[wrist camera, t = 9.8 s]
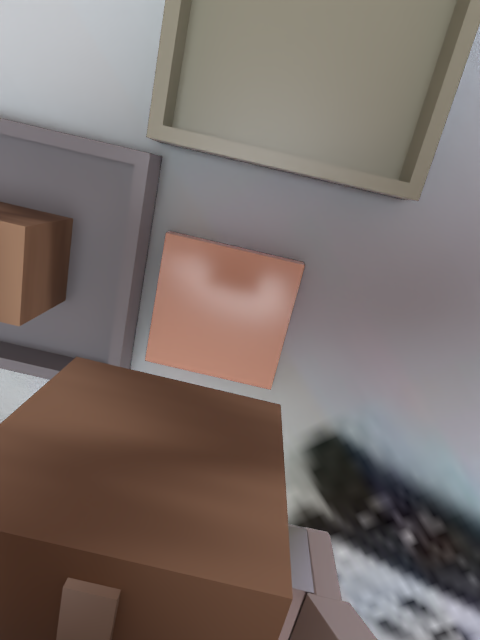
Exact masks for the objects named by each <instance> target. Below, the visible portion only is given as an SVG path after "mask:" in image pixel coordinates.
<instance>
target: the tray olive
mask: <svg viewBox="0 0 480 640" xmlns="http://www.w3.org/2000/svg"><path fill="white" fill-rule="evenodd" d="M479 24H480V0H165V7H164V14H163V21H162V29H161V36H160V43H159V50H158V57H157V64H156V72H155V79H154V86H153V93H152V100H151V107H150V115H149V122H148V129H147V136H146V137H148V138H150V139H153V140H155V141H157V142H161V143H165V144H169V145H173V146H178V147H182V148H186V149H191V150H195V151H199V152H203V153H208V154H212V155H216V156H220V157H225V158H229V159H233V160H237V161H242V162H246V163H250V164H254V165H259V166H263V167H267V168H271V169H276V170H280V171H284V172H289V173H293V174H297V175H301V176H306V177H310V178H314V179H318V180H323V181H327V182H331V183H335V184H340V185H344V186H348V187H352V188H357V189H361V190H365V191H370V192H374V193H378V194H382V195H387V196H391V197H395V198H399V199H404V200H415V201H419V198H420V195H421V192H422V190H423V187H424V184H425V181H426V178H427V175H428V172H429V169H430V166H431V163H432V160H433V158H434V155H435V152H436V149H437V146H438V143H439V140H440V137H441V134H442V131H443V128H444V126H445V123H446V120H447V117H448V114H449V111H450V108H451V105H452V102H453V99H454V96H455V94H456V91H457V88H458V85H459V82H460V79H461V76H462V73H463V70H464V67H465V64H466V62H467V59H468V56H469V53H470V50H471V47H472V44H473V41H474V38H475V35H476V32H477V30H478V27H479Z"/></svg>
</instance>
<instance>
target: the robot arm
mask: <svg viewBox="0 0 480 640" xmlns="http://www.w3.org/2000/svg"><path fill="white" fill-rule="evenodd" d="M288 531H289V547H290V562H291V578H292V594H293V600H292V603H291V605H290V608H289V611H288V614H287V617H286V619H285V622H284V625H283V628H282V630H281V633H280V636H279V639H278V640H377V638H376V637H375V636H374V635H373V633H372V632H371V631H370V629H369V628H368V627H367V625H366V624H365V623H364V621H363V620H362V619H361V618H360V616H359V615H358V614H357V612H356V611H355V610H354V608H353V607H352V606H351V604H350V603H348V602H344V601H342V597H341V592H340V587H339V581H338V576H337V571H336V565H335V560H334V555H333V549H332V544H331V539H330V535H329V534H328V532H325V531H320V530H315V529H311V528H306V527H305V528H304V527H300V526H296V525H291V524H288Z"/></svg>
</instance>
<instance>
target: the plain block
mask: <svg viewBox="0 0 480 640" xmlns="http://www.w3.org/2000/svg"><path fill="white" fill-rule="evenodd" d="M72 227H73V218H68V217H64V216H60V215H55V214H51V213H47V212H42V211H38V210H34V209H30V208H25V207H21V206H17V205H12V204H8V203H4V202H0V322H3V323H7V324H11V325H16V326H21V325H23V324H25V323H26V322H28V321H30V320H32V319H34V318H35V317H37V316H39V315H41V314H42V313H44V312H46V311H48V310H50V309H51V308H53V307H55V306H57V305H58V304H60V303H62V302H64V301H66V291H67V280H68V270H69V259H70V248H71V238H72Z"/></svg>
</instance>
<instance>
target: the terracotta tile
mask: <svg viewBox="0 0 480 640" xmlns="http://www.w3.org/2000/svg"><path fill="white" fill-rule="evenodd" d="M304 266H305V264H304V262H301V261H297V260H292V259H288V258H284V257H279V256H275V255H271V254H267V253H262V252H258V251H254V250H249V249H245V248H241V247H237V246H232V245H228V244H224V243H219V242H215V241H211V240H207V239H202V238H198V237H194V236H189V235H185V234H181V233H177V232H172V231H169V232H167V233H166V236H165V242H164V248H163V254H162V260H161V266H160V272H159V278H158V284H157V291H156V297H155V303H154V309H153V315H152V321H151V327H150V333H149V339H148V345H147V352H146V358H145V361H149V362H153V363H158V364H162V365H166V366H170V367H175V368H179V369H183V370H188V371H192V372H196V373H201V374H205V375H209V376H214V377H218V378H222V379H227V380H231V381H235V382H240V383H244V384H248V385H253V386H257V387H261V388H266V389H270V390H271V387H272V383H273V380H274V376H275V372H276V369H277V365H278V361H279V358H280V354H281V350H282V347H283V343H284V339H285V336H286V332H287V329H288V325H289V321H290V318H291V314H292V310H293V307H294V303H295V299H296V296H297V292H298V288H299V285H300V281H301V277H302V274H303V270H304Z"/></svg>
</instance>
